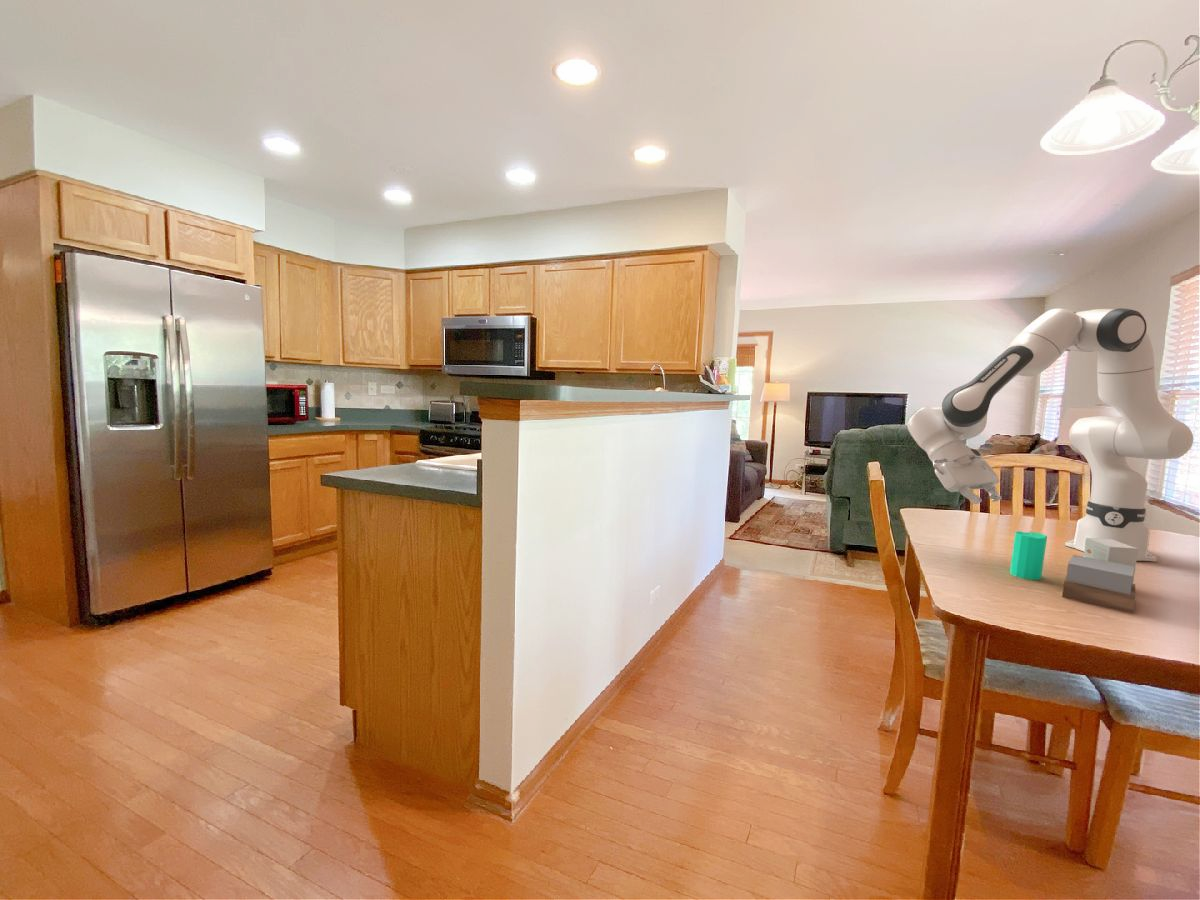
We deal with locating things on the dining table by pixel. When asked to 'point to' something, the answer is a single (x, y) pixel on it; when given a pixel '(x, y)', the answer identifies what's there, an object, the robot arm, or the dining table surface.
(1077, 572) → the tower top
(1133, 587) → the tower base
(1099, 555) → the small box
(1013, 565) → the candle
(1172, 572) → the dining table surface
